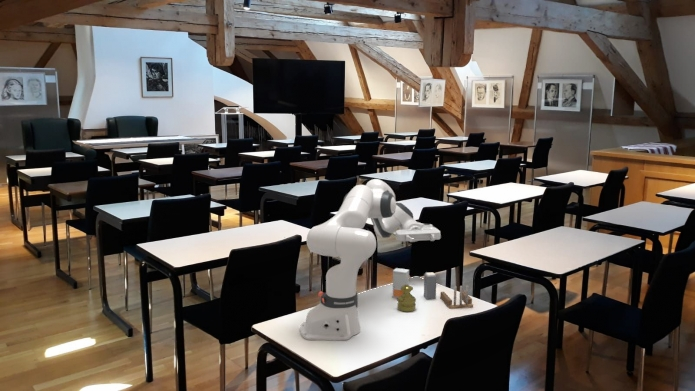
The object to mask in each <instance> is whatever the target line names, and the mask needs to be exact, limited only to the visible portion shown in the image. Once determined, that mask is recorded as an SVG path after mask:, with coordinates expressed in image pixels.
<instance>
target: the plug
mask: <svg viewBox="0 0 695 391" xmlns="http://www.w3.org/2000/svg"><path fill="white" fill-rule="evenodd" d="M423 276H424V277H423V279H424V280H423V297H424V298H425V300H436V298H437V275H436V274H435V273H434V272H425V273H423Z"/></svg>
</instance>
